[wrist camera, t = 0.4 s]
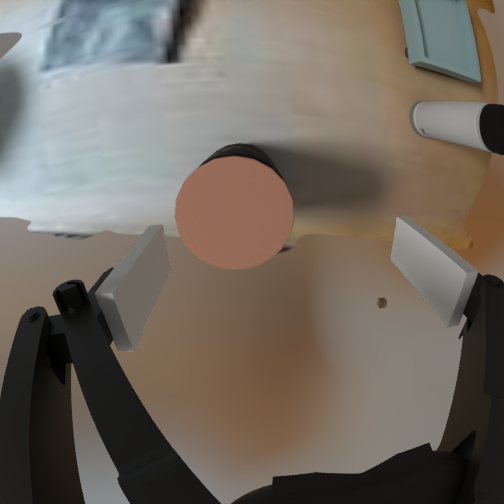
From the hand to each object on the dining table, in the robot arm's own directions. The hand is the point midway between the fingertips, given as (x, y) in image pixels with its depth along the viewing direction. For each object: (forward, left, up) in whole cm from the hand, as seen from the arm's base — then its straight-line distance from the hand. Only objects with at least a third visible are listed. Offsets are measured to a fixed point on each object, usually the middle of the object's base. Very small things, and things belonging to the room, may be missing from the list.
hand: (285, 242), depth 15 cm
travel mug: (-8, +28, -28) cm, 40 cm away
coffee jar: (+2, -3, -28) cm, 28 cm away
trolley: (-26, +31, -28) cm, 49 cm away
